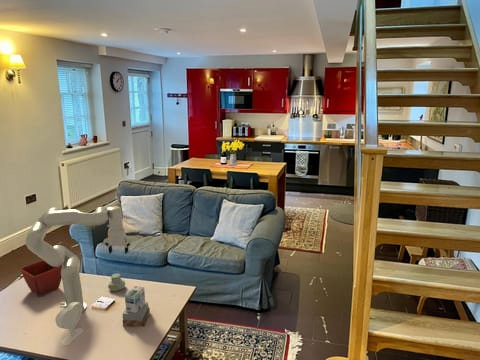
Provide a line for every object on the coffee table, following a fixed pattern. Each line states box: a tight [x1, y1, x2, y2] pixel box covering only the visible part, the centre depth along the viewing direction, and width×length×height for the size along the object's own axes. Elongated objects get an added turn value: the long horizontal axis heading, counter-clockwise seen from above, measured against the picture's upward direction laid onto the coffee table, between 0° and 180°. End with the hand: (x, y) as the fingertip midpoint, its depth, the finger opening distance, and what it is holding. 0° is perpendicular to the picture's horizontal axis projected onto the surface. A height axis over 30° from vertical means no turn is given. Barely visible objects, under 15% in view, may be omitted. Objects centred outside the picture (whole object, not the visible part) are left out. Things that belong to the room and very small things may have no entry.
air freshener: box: [107, 273, 126, 292], centre depth 241 cm, size 11×8×10 cm
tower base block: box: [122, 306, 151, 328], centre depth 210 cm, size 12×13×4 cm
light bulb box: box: [124, 285, 146, 313], centre depth 207 cm, size 11×7×11 cm, turn 164°
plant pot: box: [20, 259, 62, 297], centre depth 239 cm, size 19×19×17 cm
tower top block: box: [122, 301, 149, 321], centre depth 208 cm, size 11×12×4 cm
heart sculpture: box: [55, 302, 84, 346], centre depth 194 cm, size 16×5×18 cm, turn 163°
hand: (118, 252), depth 220 cm, fingers open, 9 cm apart
